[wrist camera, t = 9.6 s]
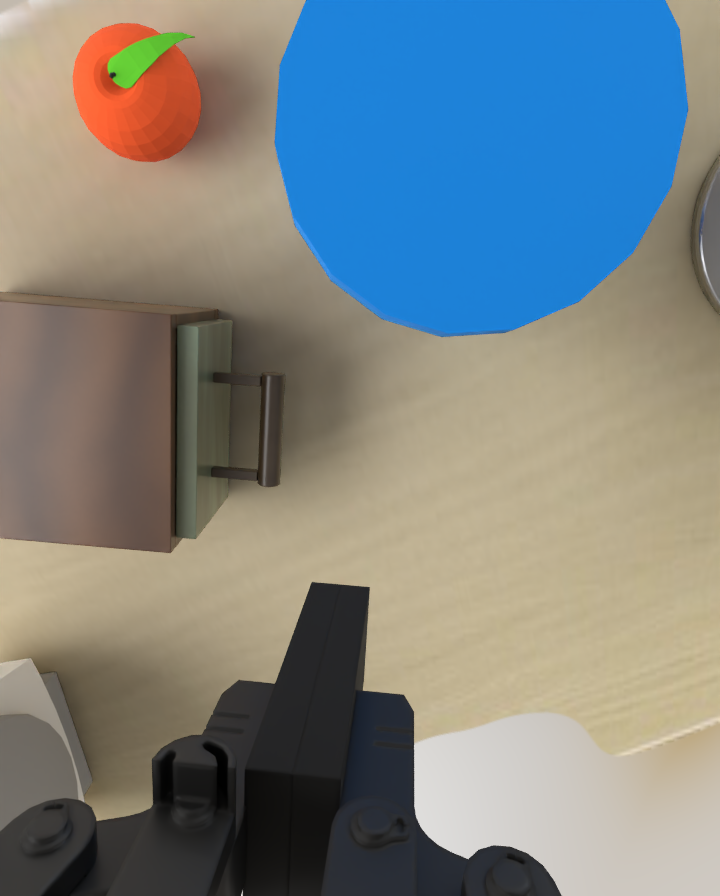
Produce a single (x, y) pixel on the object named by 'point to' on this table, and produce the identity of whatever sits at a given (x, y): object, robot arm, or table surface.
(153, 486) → the cabinet
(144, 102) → the clementine
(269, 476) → the drawer
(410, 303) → the thermos
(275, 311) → the table surface
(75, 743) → the alarm clock
